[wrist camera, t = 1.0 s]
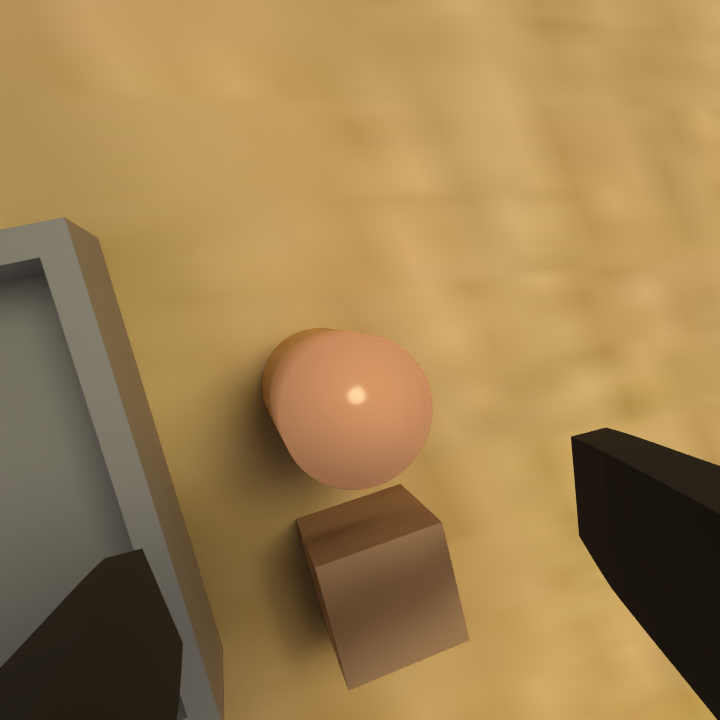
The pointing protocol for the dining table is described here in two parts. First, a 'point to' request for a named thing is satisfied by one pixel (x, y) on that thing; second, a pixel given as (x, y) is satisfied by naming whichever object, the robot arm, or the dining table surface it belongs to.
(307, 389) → the terracotta capsule
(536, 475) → the dining table surface
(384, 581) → the walnut cube
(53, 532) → the tote
